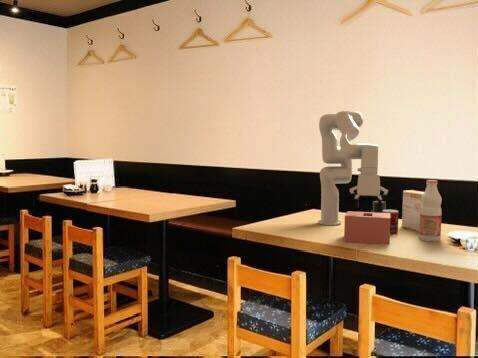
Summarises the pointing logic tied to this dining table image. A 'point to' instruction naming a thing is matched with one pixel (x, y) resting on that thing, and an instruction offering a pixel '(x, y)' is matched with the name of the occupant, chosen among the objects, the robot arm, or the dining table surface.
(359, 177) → the robot arm
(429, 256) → the dining table surface
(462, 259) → the dining table surface
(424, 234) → the fruit juice
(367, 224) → the box
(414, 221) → the coffeecake box
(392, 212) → the canned food
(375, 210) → the ink bottle
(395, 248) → the dining table surface
